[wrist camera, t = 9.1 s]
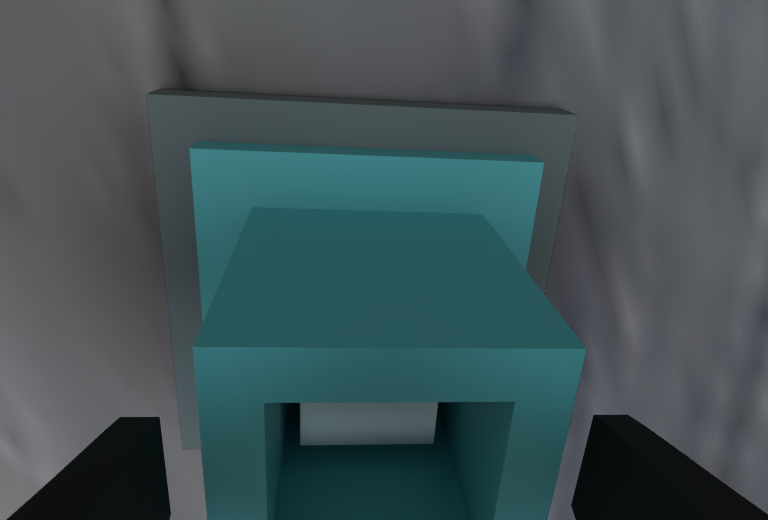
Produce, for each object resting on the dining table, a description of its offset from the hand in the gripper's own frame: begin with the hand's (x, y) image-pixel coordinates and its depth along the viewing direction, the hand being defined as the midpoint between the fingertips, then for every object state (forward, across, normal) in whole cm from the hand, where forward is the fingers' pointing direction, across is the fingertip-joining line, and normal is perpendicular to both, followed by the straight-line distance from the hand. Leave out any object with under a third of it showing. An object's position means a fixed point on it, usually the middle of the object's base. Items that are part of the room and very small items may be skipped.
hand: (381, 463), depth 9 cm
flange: (+6, 0, 0) cm, 6 cm away
